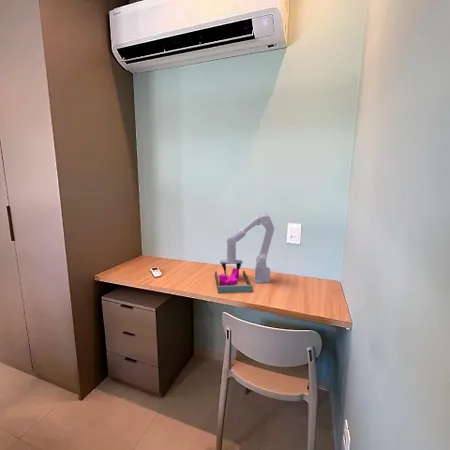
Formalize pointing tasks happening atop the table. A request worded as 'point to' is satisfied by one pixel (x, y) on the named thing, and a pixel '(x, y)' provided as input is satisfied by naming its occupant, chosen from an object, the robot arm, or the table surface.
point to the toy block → (229, 278)
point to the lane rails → (243, 276)
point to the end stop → (235, 289)
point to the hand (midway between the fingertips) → (231, 274)
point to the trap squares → (239, 276)
